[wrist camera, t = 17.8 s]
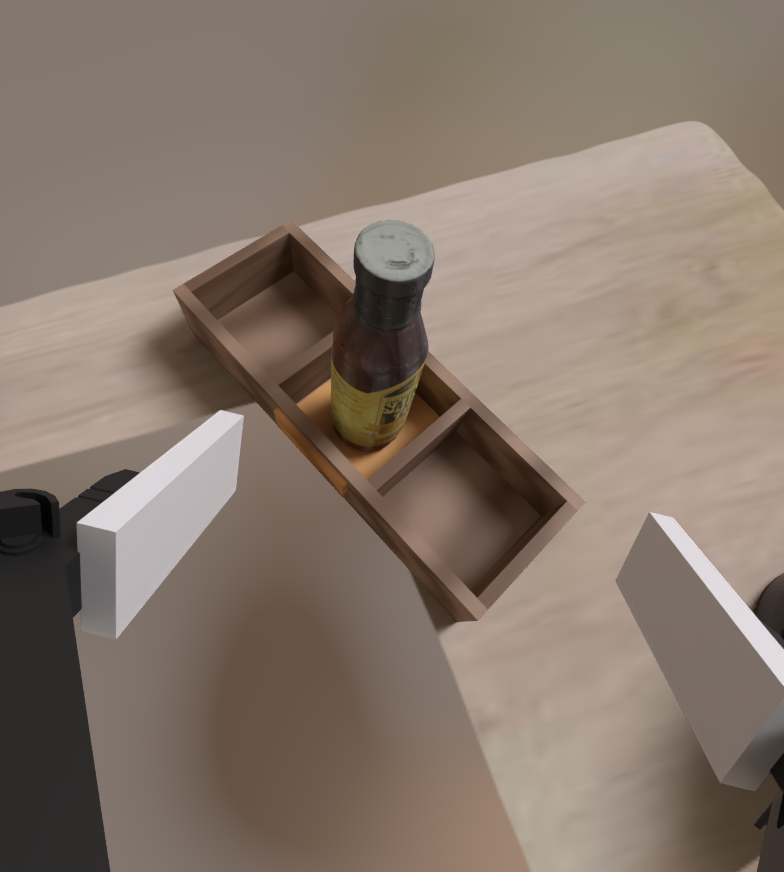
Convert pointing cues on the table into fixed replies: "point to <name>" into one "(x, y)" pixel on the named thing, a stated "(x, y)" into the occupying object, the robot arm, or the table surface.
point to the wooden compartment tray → (406, 455)
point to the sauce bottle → (380, 335)
